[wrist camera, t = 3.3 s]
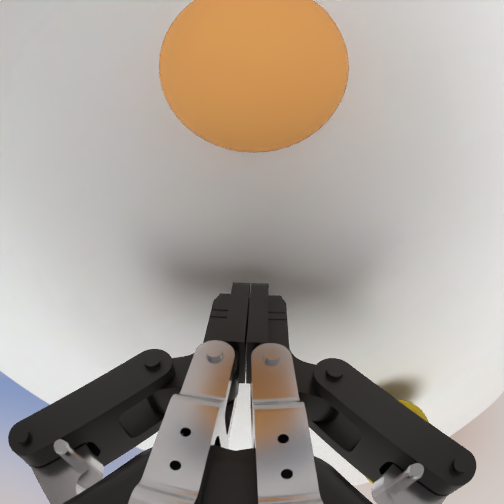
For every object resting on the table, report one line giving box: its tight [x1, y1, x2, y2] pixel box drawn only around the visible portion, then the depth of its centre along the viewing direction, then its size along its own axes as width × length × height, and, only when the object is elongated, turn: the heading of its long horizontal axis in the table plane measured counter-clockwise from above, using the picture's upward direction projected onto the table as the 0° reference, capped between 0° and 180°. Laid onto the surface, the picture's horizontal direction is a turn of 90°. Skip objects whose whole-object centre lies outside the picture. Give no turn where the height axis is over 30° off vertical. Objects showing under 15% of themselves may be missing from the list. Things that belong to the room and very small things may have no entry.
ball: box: [159, 0, 349, 152], centre depth 7 cm, size 6×6×6 cm
